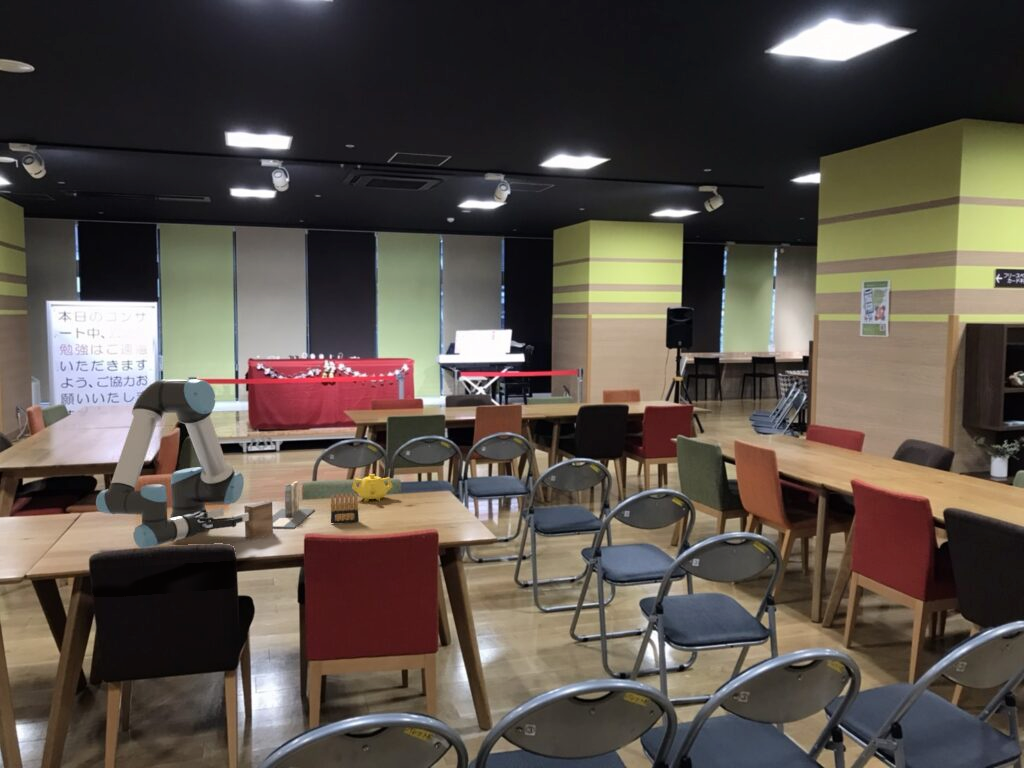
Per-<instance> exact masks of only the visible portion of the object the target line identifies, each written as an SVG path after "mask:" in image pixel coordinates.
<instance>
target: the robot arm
mask: <svg viewBox="0 0 1024 768" xmlns="http://www.w3.org/2000/svg"><path fill="white" fill-rule="evenodd" d="M215 399H216V394H215V391H214V388H213V387H212V385H211V384H210V383H209V382H207V381H206V380H203V379H196V378H191V379H169V378H164V379H163V378H162V379H159V380H156V381H154V382H153V383H151V384H150V385H148V386H147V387H146V388H145V389H144V390H143V391H142V392H141V393H140V394H139V396H138V398H136V401H135V403H134V405H133V407H132V410H131V415H132V416H133V418H132V420H131V423H130V427H129V429H128V431H127V432H128V433H127V436H126V438H125V440H124V444H123V447H122V449H121V452H120V456H119V459H118V462H117V465H116V467H115V469H114V473H113V476H112V480H111V482H110V485H109V488H107V489H104V490H101V491H100V492H99V493H98V494H97V496H96V500H95V505H96V508H97V510H98V511H99V512H100V513H102V514H103V513H104V514H110V515H140V516H141V524H139V525H137V526H135V528H134V531H133V534H132V535H133V540H134V543H135V544H136V545H137V546H138V547H139V548H141V549H145V548H151V547H157V546H160V545H164V544H167V543H170V542H171V543H172V542H173V543H176V542H177V541H179V540H183V539H187V538H190V537H195V536H196V535H197V534H198V533H201V531H202V532H205V531H210V530H217V529H225V528H231V527H232V528H235V527H236V526H237V525H238V524H241V523H245V521H249V513H245V512H244V513H240V514H236V515H233V516H231V517H222V516H225V515H224V507H220V508H215V509H212V510H207V509H206V503H207V504H225V505H226V504H234V503H236V502H238V500H240V498H241V496H242V493H243V490H244V475H243V474H242V473H241V472H238V471H237V472H235V471H234V468H233V466H232V464H231V463H229V462H227V461H226V458H225V455H224V452H223V449H222V446H221V444H220V441H219V438H218V435H217V432H216V430H215V426H214V424H213V421H212V418H211V415H212V413H213V410H214V408H215V405H216V400H215ZM166 413H167V414H169V413H170V414H171V413H173V414H176V416H177V419H178V421H179V422H180V423H182V424H184V425H185V427H186V429H187V433H188V435H189V438H190V441H191V443H192V446H193V448H194V449H193V450H194V451H195V454H196V457H197V459H198V462H199V465H200V466H197V467H190V468H183V469H180V470H176V471H174V472H172V474H171V476H170V491H171V493H170V494H171V513H170V517H169V518H168V495H167V488H166V486H165V485H163V484H160V483H159V484H155V483H154V484H146V485H143V486H141V488H140V490H136V487H137V484H138V481H139V478H140V475H141V472H142V469H143V466H144V463H145V459H146V457H147V455H148V451H149V448H150V445H151V441H152V439H153V437H154V433H155V430H156V427H157V423H159V422H161V421H162V418H163V416H164V415H165V414H166ZM204 530H205V531H204Z"/></svg>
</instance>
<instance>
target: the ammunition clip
mask: <svg viewBox="0 0 1024 768" xmlns="http://www.w3.org/2000/svg"><path fill="white" fill-rule="evenodd" d="M335 496H336V498H335ZM353 497H354V498H353ZM330 499H331V502H330V524H331V523H343V524H353V523H355V524H356V523H359V521H360V519H359V503H358V493H357V492H356V491H355V492H354V495H353V493H352V492H350V494H349V496H348V492H346V493H345V497H344V493H343V492H342V493H341V495H339V493H336V495H334V493H332V494H331V498H330Z"/></svg>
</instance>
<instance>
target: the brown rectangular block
mask: <svg viewBox="0 0 1024 768" xmlns="http://www.w3.org/2000/svg"><path fill="white" fill-rule="evenodd" d="M244 513H249V521H245V522H244V530H245V531H244V533H245V534H244V535H245V539H248V538H250V539H249V540H253V539H254V540H256V538H257V539H260V538H259V537H261V538H264V537H266V535H267V536H270V535H269V534H271V535H273V534H274V528H273V515H274V513H273V501H272V500H262V501H258V502H254V503H251V504H246V505H244ZM263 536H264V537H263Z"/></svg>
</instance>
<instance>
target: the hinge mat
mask: <svg viewBox="0 0 1024 768" xmlns="http://www.w3.org/2000/svg"><path fill="white" fill-rule="evenodd" d="M314 510H315V508H299V510H298V511H297V512H296V513H295V514H293V515H292V517H285V508H280V510H278V511H277V512H275V514H274V513H273V529H282V528H294V529H296V528H297V527H298V526H299V525H300V524H301V523H303V521H305V520H306V519H307V518H308V517H309V516H310V515H312V514H313V513H314V512H315V511H316V510H315V511H314ZM313 511H314V512H313ZM312 512H313V513H312ZM309 514H310V515H309ZM308 515H309V516H308ZM307 516H308V517H307ZM306 517H307V518H306ZM305 518H306V519H305ZM304 519H305V520H304ZM300 522H301V523H300ZM298 524H299V525H298ZM297 525H298V526H297ZM296 526H297V527H296Z"/></svg>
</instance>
